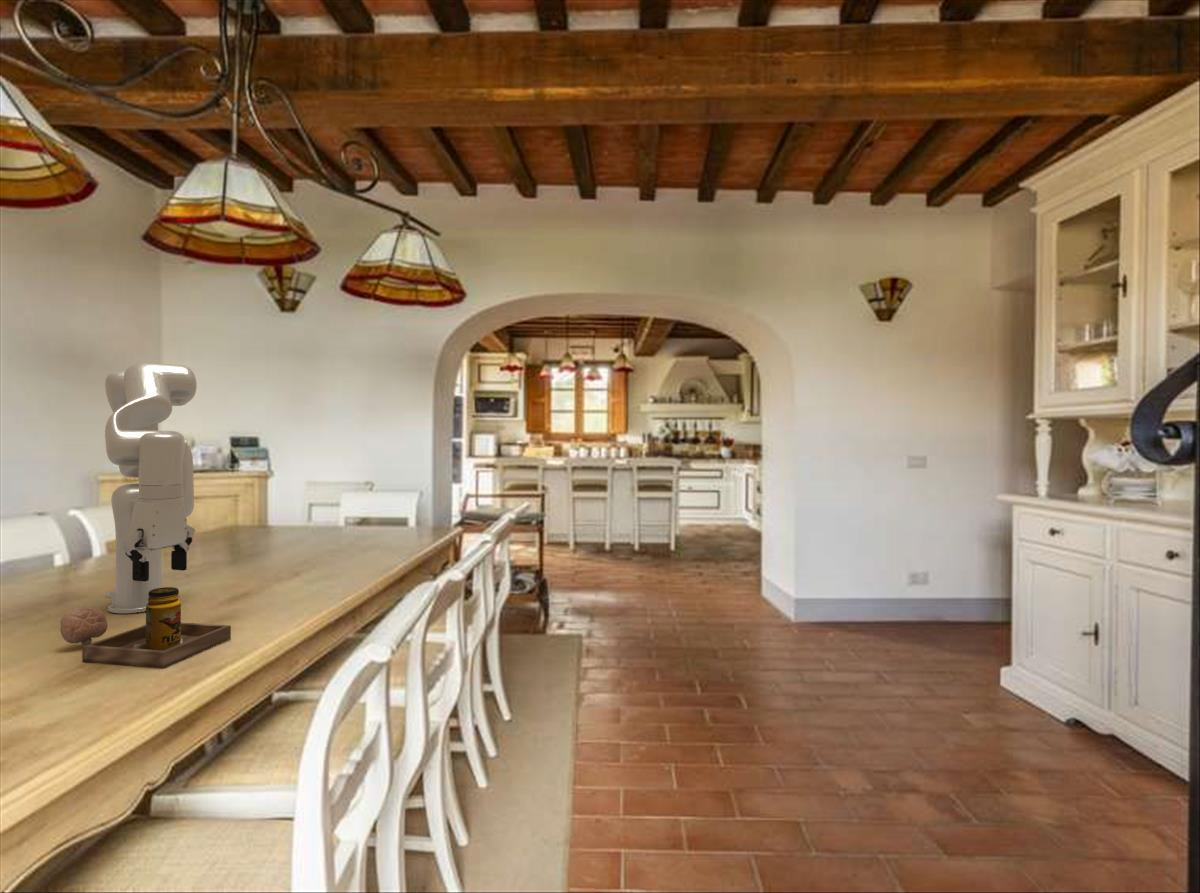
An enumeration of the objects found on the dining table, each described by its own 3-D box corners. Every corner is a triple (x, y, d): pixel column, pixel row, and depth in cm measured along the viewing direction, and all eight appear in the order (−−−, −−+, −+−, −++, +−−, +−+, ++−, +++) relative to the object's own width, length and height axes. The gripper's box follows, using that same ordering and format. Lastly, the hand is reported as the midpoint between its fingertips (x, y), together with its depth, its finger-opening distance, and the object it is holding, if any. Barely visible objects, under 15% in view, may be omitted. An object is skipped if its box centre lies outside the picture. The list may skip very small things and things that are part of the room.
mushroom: (110, 639, 142) (110, 602, 142) (103, 648, 136) (103, 609, 136) (65, 644, 138) (65, 606, 138) (57, 653, 133) (57, 613, 133)
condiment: (182, 649, 135) (183, 591, 134) (132, 656, 130) (132, 596, 130) (182, 639, 141) (182, 584, 140) (134, 646, 136) (134, 588, 136)
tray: (82, 661, 128) (82, 646, 128) (157, 634, 146) (157, 620, 146) (164, 668, 125) (164, 652, 125) (230, 639, 143) (230, 625, 143)
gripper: (177, 487, 144) (177, 564, 145) (107, 496, 127) (107, 584, 128) (208, 489, 143) (207, 567, 144) (141, 498, 126) (141, 586, 127)
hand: (160, 575), depth 136 cm, fingers open, 9 cm apart
